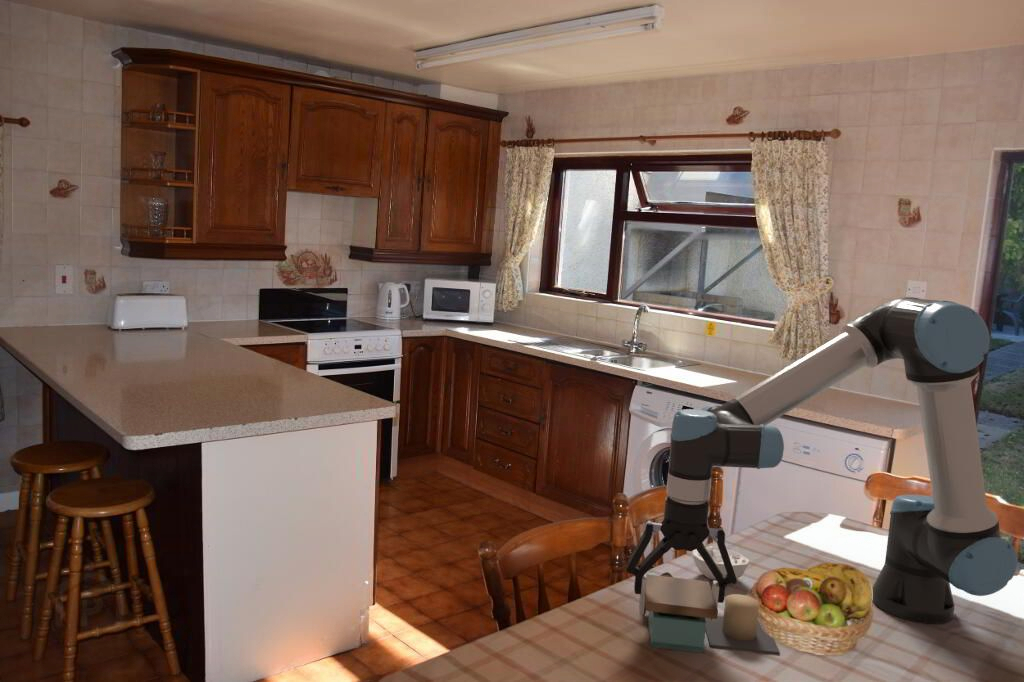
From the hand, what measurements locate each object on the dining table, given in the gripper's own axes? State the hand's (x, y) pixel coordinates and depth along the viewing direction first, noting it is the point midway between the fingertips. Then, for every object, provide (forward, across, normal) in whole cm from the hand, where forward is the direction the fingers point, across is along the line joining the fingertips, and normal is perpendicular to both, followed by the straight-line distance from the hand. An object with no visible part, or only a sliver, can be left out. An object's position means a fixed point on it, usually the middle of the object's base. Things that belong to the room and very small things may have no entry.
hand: (676, 614), depth 145 cm
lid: (-3, 0, 0) cm, 3 cm away
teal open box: (+4, 0, 0) cm, 4 cm away
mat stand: (+4, -12, -4) cm, 13 cm away
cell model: (+5, -12, -30) cm, 33 cm away
